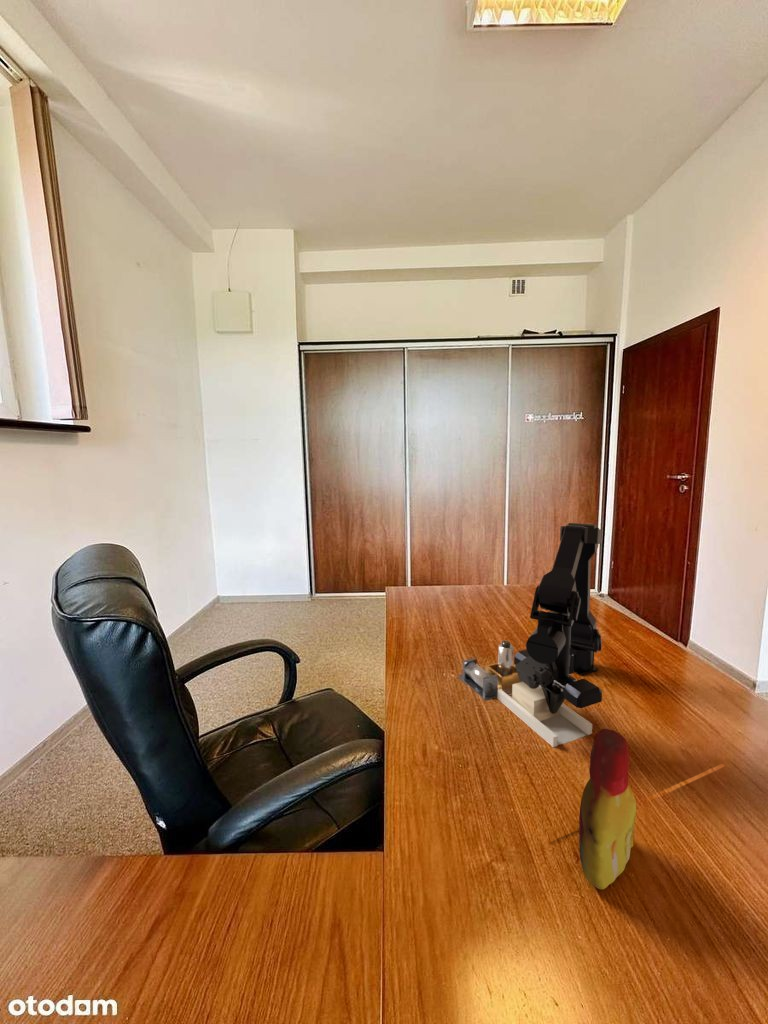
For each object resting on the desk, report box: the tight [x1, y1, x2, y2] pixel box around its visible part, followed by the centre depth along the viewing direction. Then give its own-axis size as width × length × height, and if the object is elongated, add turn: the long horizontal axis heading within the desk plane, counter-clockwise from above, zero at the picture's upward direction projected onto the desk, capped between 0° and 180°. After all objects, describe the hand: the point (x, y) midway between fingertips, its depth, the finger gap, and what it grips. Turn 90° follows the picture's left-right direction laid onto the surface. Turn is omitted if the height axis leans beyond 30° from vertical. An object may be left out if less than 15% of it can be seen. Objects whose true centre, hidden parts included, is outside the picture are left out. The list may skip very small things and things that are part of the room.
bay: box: [497, 690, 593, 748], centre depth 89 cm, size 10×18×2 cm, turn 21°
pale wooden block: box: [511, 682, 560, 722], centre depth 91 cm, size 7×8×5 cm
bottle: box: [578, 728, 637, 890], centre depth 56 cm, size 12×6×20 cm, turn 134°
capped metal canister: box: [497, 640, 514, 677], centre depth 103 cm, size 4×4×10 cm
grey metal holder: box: [457, 657, 522, 701], centre depth 103 cm, size 16×12×5 cm
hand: (553, 712), depth 86 cm, fingers closed
